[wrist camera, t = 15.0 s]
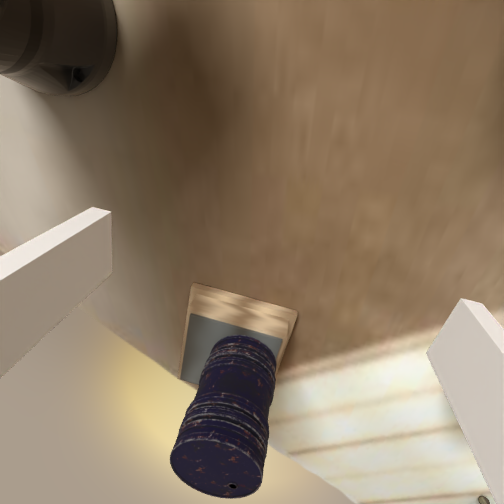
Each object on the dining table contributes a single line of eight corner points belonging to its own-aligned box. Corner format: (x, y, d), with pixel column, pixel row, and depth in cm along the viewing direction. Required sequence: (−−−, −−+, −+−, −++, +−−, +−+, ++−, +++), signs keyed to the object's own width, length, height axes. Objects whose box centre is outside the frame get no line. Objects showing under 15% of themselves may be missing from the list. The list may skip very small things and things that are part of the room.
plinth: (182, 358, 55) (169, 383, 50) (193, 282, 47) (180, 302, 42) (271, 384, 54) (267, 412, 49) (297, 311, 46) (296, 335, 42)
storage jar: (196, 350, 46) (149, 453, 33) (248, 323, 42) (219, 426, 29) (238, 394, 48) (211, 506, 35) (291, 372, 45) (283, 488, 31)
